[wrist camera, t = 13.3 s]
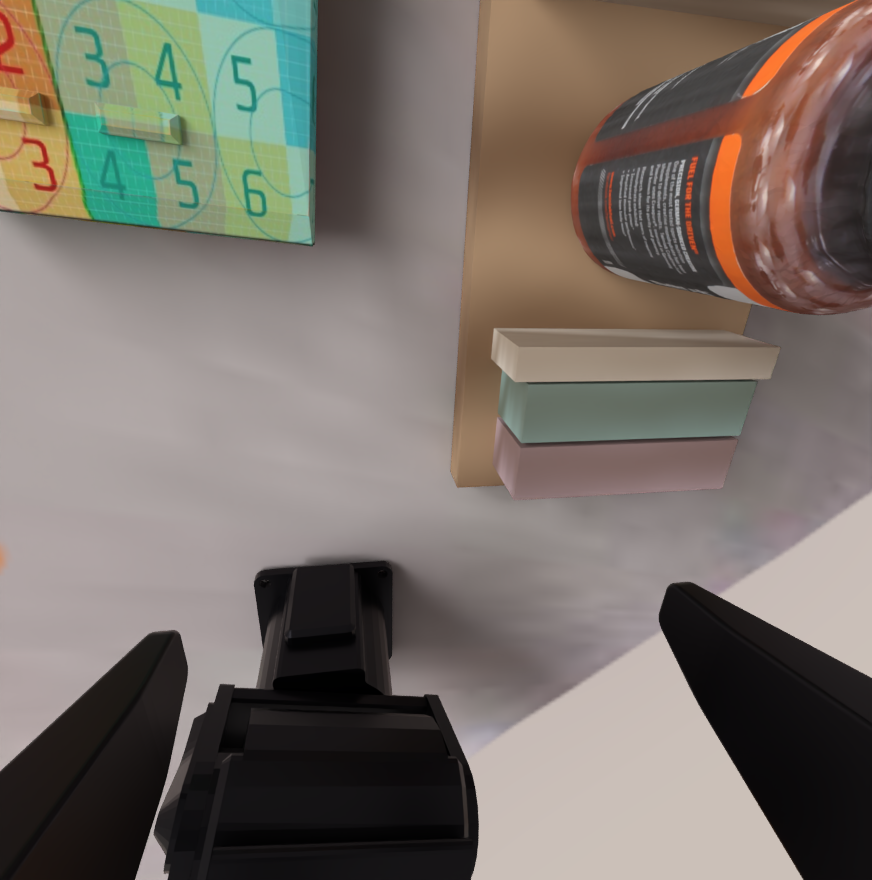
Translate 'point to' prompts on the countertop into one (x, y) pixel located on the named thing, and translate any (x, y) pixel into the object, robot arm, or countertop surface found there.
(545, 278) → the book rack
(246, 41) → the puzzle game
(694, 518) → the countertop surface
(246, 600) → the countertop surface
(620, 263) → the supplement bottle
